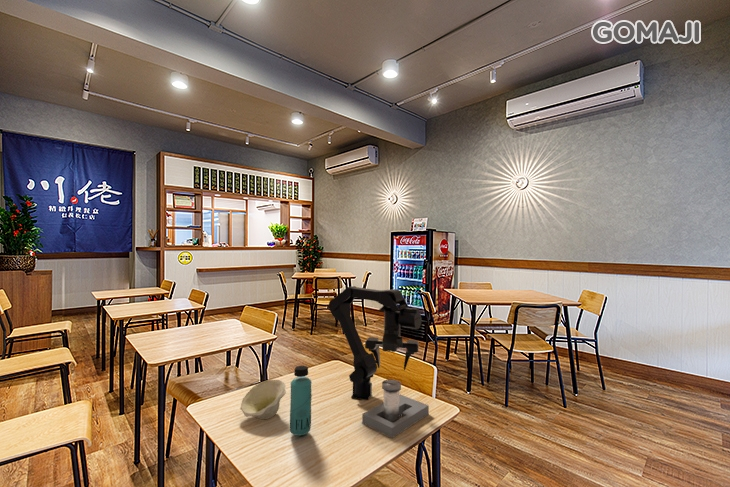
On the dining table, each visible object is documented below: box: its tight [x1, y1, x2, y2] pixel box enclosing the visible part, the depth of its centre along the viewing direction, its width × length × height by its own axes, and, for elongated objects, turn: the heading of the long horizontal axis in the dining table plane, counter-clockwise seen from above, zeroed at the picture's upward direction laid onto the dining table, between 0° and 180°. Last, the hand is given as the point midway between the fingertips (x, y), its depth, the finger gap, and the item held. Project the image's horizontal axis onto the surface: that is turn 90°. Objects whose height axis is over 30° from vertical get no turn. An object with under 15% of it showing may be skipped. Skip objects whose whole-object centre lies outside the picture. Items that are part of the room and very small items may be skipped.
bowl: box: [239, 379, 287, 420], centre depth 109 cm, size 15×14×10 cm
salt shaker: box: [381, 379, 402, 423], centre depth 105 cm, size 6×6×13 cm
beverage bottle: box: [289, 365, 313, 436], centre depth 99 cm, size 6×7×20 cm
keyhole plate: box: [361, 393, 430, 439], centre depth 109 cm, size 20×12×3 cm, turn 137°
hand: (391, 368), depth 118 cm, fingers open, 9 cm apart
